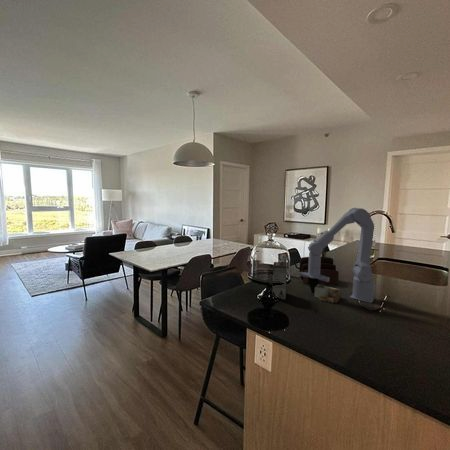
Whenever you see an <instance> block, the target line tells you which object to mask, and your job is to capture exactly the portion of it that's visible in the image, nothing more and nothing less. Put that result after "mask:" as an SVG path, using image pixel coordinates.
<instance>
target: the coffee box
mask: <svg viewBox="0 0 450 450" xmlns="http://www.w3.org/2000/svg"><path fill="white" fill-rule="evenodd" d="M272 266H273V268H272V269H273V271H272V282H273V281H280V282H282V283H284V284H282V285H275V286H273V285H272V292H273V291H274V292H275V294H276V295H277V296H278V297H279V298H281V299H280V300H286V298H287V297H286V296H287V295H286V294H287V272H288V271H287V269H288V268H287V267H288V266H287V262H285V261H284V262H281V261H273V265H272Z"/></svg>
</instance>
